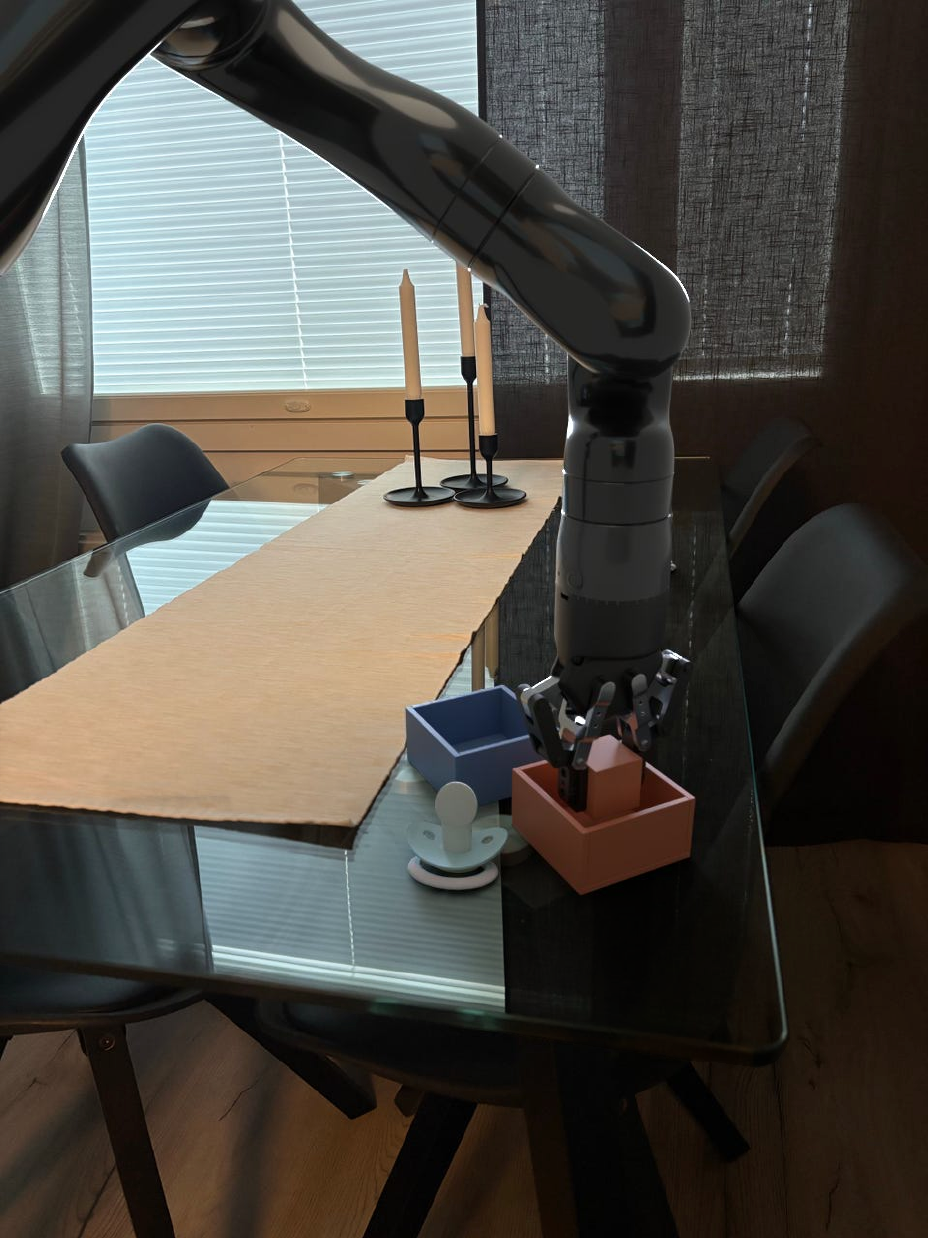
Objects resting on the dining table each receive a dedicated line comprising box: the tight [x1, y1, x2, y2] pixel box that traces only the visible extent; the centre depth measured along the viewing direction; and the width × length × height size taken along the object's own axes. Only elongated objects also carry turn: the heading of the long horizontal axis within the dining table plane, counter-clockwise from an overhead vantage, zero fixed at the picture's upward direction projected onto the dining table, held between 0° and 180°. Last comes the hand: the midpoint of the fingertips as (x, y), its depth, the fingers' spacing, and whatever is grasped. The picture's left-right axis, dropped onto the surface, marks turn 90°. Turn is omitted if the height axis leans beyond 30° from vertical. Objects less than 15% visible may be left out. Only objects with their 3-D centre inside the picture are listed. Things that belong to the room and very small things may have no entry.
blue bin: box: [404, 684, 560, 807], centre depth 80 cm, size 10×10×5 cm
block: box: [583, 734, 642, 821], centre depth 69 cm, size 4×4×4 cm
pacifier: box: [405, 782, 508, 891], centre depth 67 cm, size 7×6×6 cm
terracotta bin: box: [511, 760, 696, 896], centre depth 70 cm, size 10×10×5 cm
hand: (600, 797), depth 70 cm, fingers closed on block, 4 cm apart
